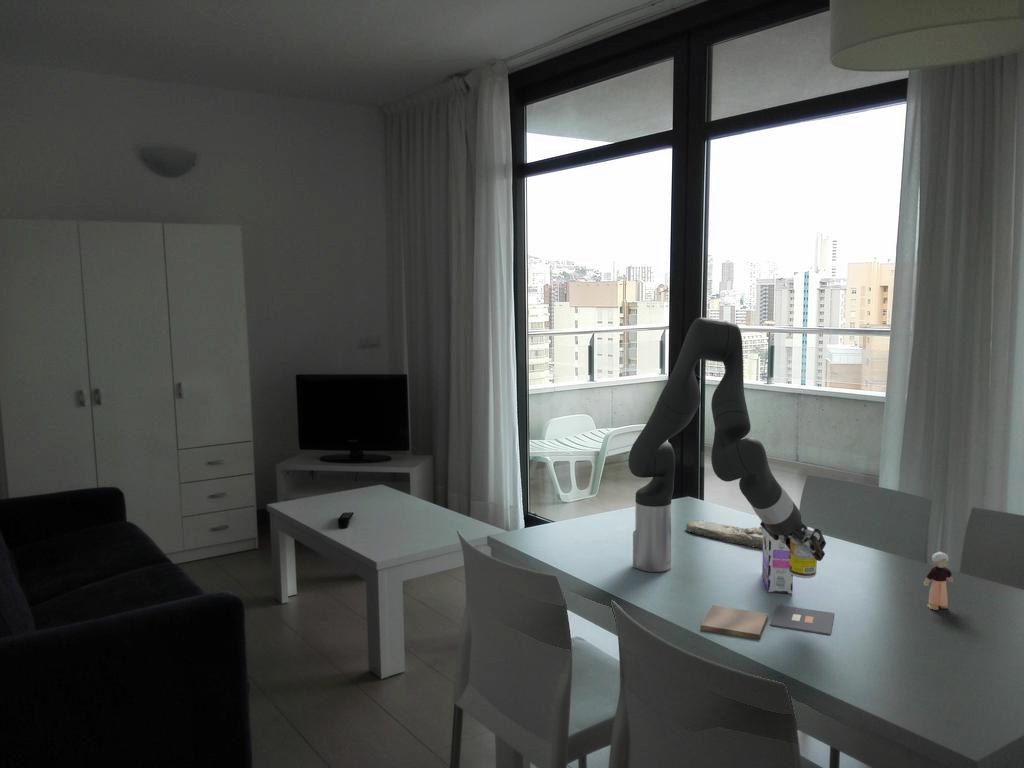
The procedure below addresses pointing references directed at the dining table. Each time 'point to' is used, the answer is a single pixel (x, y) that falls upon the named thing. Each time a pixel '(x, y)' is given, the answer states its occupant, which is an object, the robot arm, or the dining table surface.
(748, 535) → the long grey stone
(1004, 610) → the dining table surface
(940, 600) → the grandmother figurine
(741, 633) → the walnut board
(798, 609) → the tile
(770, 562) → the candy box
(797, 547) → the supplement bottle
